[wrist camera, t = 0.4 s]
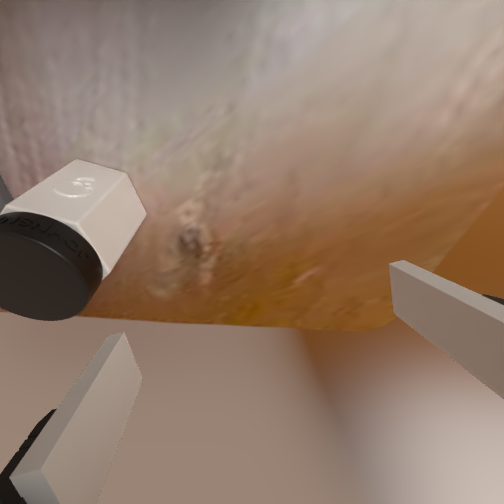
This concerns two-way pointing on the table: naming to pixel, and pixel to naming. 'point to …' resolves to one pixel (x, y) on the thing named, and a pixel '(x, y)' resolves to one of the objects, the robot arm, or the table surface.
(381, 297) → the table surface
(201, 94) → the table surface
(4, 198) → the green and grey tray
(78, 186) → the jar
